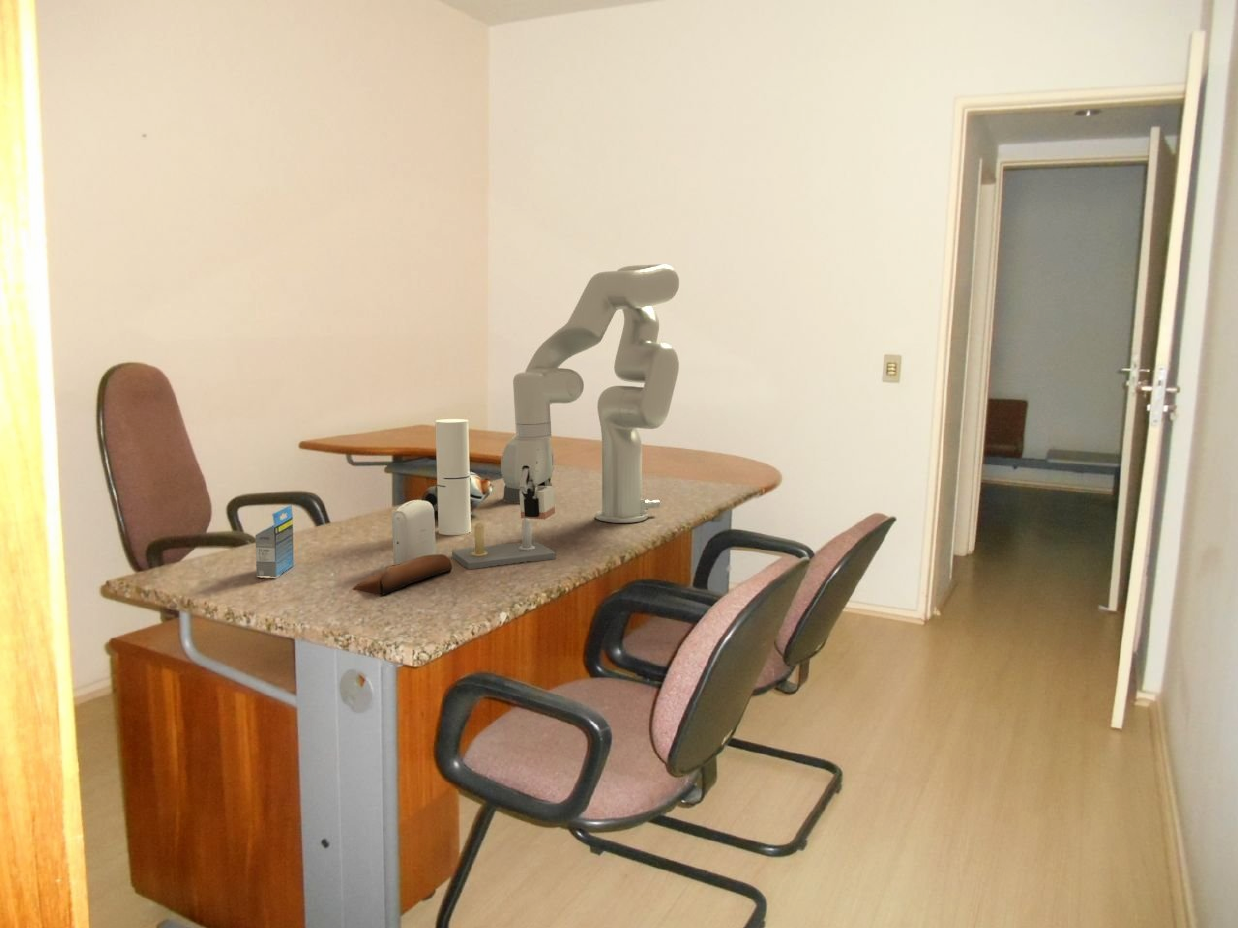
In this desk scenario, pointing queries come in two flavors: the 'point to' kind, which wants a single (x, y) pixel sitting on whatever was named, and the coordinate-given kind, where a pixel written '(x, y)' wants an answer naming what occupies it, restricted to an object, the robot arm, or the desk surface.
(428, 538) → the photo printer
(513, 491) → the alarm clock
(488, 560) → the pin board
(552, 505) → the sleeve
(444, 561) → the sunglasses case
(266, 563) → the label tape box
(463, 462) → the cylindrical container
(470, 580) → the desk surface
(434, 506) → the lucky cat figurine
